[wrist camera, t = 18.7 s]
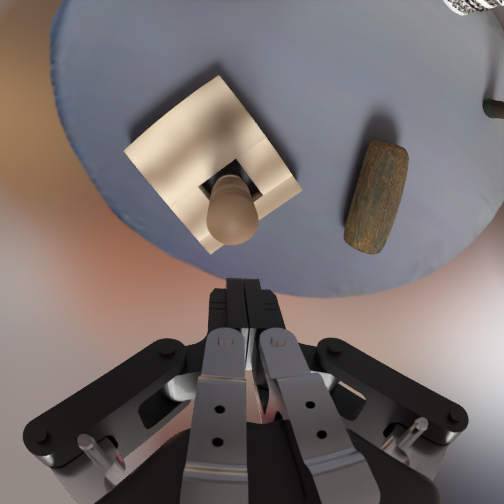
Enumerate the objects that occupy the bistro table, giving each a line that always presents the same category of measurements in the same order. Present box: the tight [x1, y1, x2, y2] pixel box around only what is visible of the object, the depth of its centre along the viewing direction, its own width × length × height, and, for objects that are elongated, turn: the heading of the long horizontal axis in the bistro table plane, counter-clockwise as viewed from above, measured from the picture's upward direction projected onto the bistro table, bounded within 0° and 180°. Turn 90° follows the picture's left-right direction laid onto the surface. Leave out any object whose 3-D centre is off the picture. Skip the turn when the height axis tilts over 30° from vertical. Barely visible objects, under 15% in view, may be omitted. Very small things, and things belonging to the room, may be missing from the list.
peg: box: [206, 172, 258, 245], centre depth 29 cm, size 4×4×14 cm
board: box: [124, 75, 302, 254], centre depth 32 cm, size 17×14×3 cm
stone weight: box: [344, 139, 409, 254], centre depth 34 cm, size 15×7×7 cm, turn 172°
